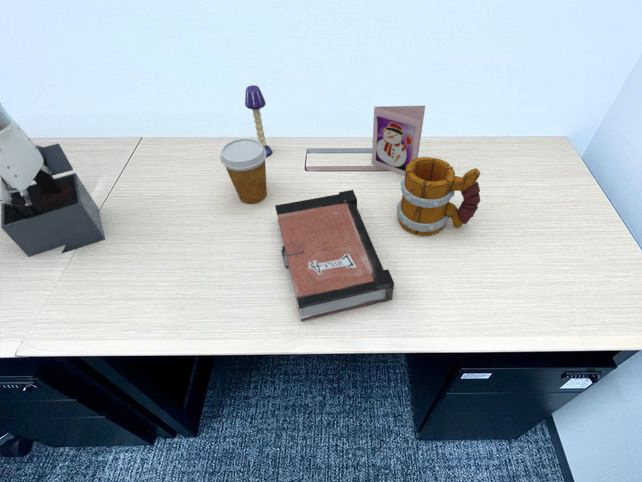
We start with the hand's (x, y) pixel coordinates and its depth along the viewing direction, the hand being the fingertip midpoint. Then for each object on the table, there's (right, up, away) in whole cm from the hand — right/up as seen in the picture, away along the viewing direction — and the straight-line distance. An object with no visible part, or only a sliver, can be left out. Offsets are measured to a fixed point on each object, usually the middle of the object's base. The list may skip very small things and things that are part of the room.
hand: (45, 205), depth 77 cm
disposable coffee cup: (+36, +4, +15) cm, 39 cm away
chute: (0, -5, +6) cm, 8 cm away
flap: (-3, +7, 0) cm, 8 cm away
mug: (+76, -2, +9) cm, 77 cm away
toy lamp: (+36, +18, +26) cm, 48 cm away
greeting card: (+70, +13, +22) cm, 75 cm away
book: (+55, -10, +2) cm, 55 cm away
